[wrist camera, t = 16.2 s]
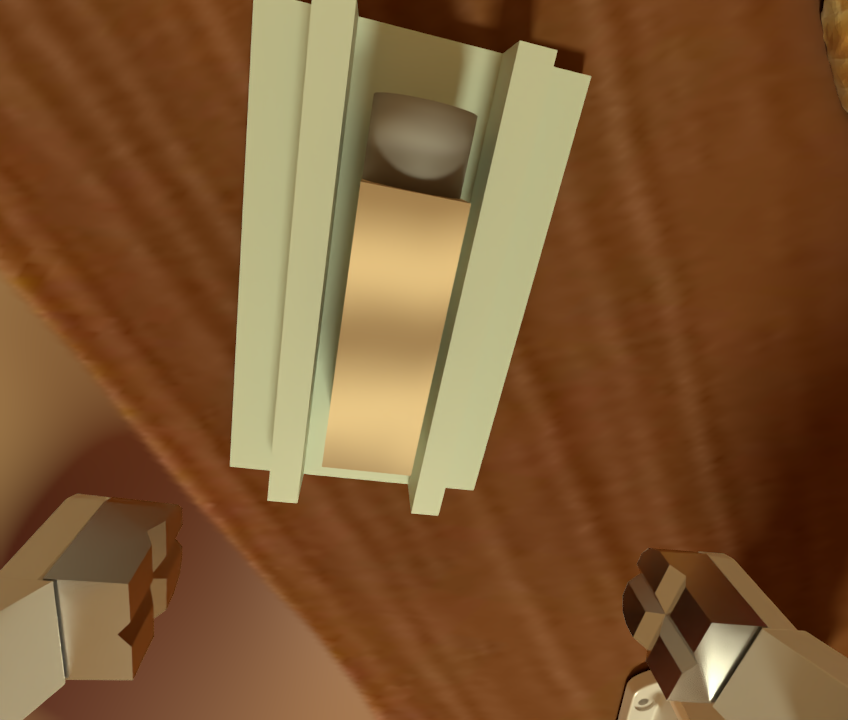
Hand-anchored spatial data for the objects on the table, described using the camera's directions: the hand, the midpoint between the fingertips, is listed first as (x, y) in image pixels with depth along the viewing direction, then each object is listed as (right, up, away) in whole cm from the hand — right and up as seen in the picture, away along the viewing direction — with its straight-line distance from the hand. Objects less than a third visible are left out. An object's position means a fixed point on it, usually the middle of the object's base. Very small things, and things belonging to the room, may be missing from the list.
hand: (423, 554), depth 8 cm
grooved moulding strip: (-2, +7, +16) cm, 18 cm away
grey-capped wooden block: (-2, +7, +15) cm, 17 cm away
